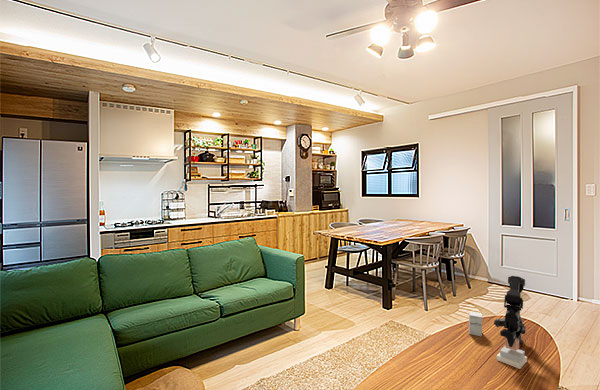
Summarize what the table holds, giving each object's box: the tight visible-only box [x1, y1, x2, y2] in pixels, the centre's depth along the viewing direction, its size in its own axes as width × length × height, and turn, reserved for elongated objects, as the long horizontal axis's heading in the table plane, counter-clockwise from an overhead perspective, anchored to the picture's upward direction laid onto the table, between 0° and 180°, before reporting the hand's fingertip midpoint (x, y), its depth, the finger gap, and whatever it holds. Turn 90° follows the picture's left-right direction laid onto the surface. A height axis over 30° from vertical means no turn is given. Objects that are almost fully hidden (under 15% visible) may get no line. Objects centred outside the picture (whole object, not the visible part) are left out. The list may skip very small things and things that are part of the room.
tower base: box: [496, 352, 528, 370], centre depth 172 cm, size 11×11×3 cm
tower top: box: [499, 345, 526, 363], centre depth 172 cm, size 9×9×3 cm
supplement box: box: [468, 310, 483, 337], centre depth 203 cm, size 7×7×13 cm
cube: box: [504, 337, 520, 351], centre depth 171 cm, size 5×5×5 cm
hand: (512, 345), depth 172 cm, fingers closed on cube, 5 cm apart
